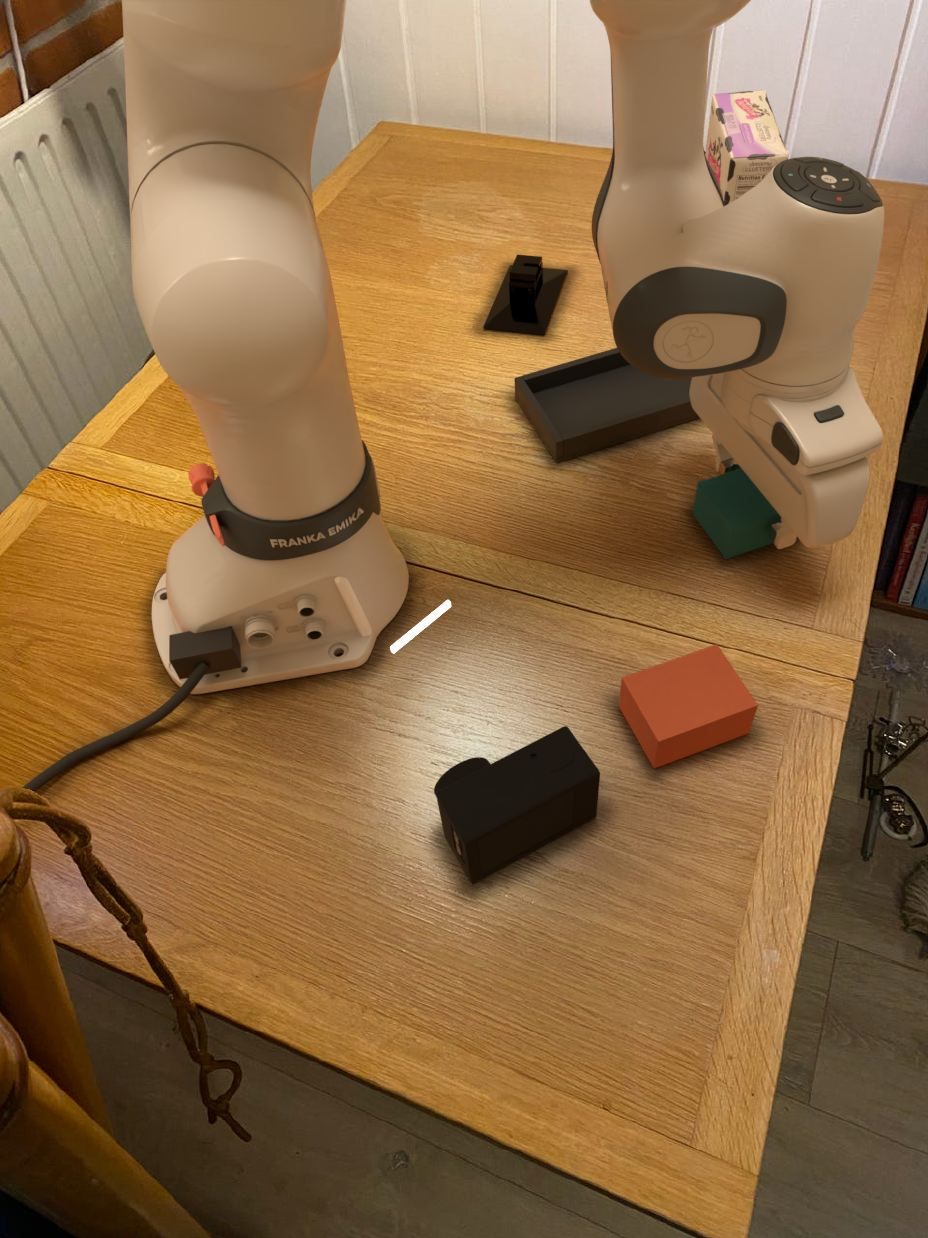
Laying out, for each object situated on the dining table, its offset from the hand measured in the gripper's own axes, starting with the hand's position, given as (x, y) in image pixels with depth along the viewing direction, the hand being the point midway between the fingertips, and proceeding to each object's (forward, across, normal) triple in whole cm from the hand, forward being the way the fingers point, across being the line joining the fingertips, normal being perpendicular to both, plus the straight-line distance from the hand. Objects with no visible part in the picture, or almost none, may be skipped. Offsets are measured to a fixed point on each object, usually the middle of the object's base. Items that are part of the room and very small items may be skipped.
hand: (753, 507), depth 84 cm
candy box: (+2, -36, +18) cm, 40 cm away
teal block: (+2, 0, 0) cm, 2 cm away
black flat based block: (+2, -40, -5) cm, 40 cm away
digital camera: (+2, +19, -30) cm, 36 cm away
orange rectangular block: (+2, +16, -15) cm, 22 cm away
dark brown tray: (+2, -19, -2) cm, 20 cm away
